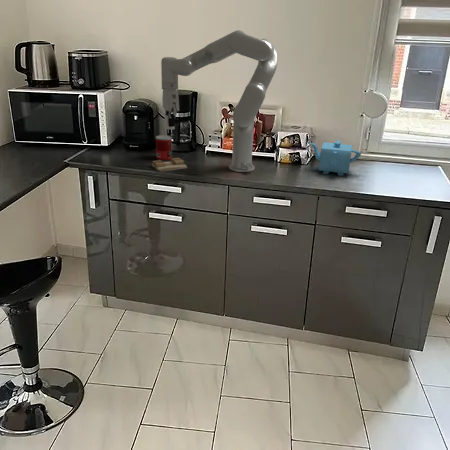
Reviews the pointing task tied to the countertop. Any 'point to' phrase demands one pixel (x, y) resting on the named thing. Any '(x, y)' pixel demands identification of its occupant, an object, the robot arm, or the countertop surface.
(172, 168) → the board
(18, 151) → the countertop surface
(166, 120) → the tab
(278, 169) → the countertop surface
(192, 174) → the countertop surface
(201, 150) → the countertop surface
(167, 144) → the canned food
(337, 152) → the teakettle
